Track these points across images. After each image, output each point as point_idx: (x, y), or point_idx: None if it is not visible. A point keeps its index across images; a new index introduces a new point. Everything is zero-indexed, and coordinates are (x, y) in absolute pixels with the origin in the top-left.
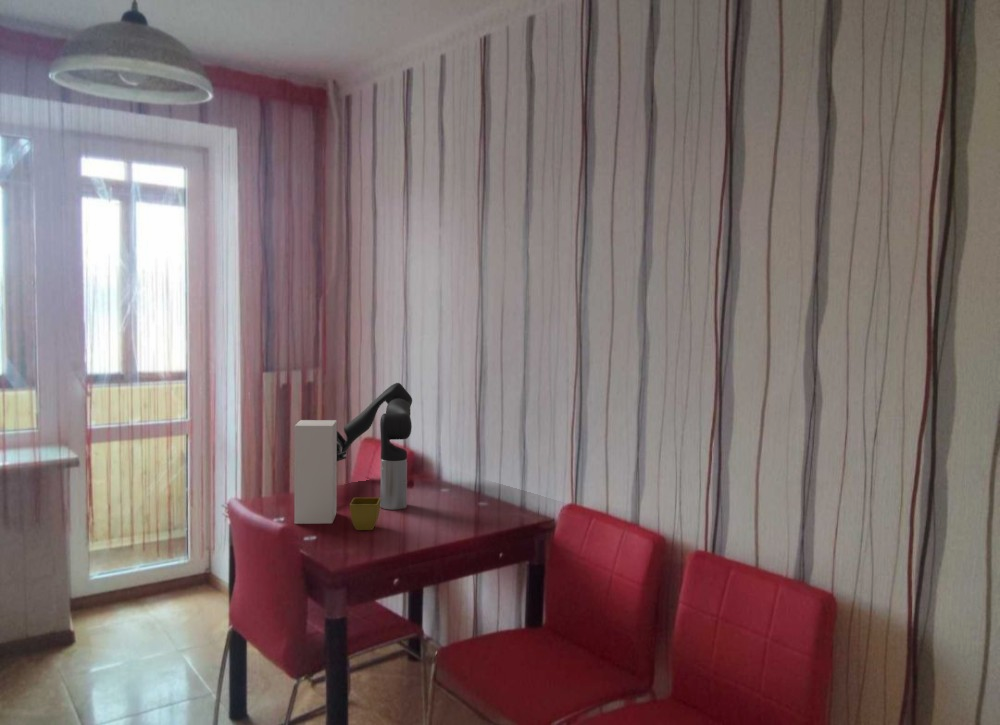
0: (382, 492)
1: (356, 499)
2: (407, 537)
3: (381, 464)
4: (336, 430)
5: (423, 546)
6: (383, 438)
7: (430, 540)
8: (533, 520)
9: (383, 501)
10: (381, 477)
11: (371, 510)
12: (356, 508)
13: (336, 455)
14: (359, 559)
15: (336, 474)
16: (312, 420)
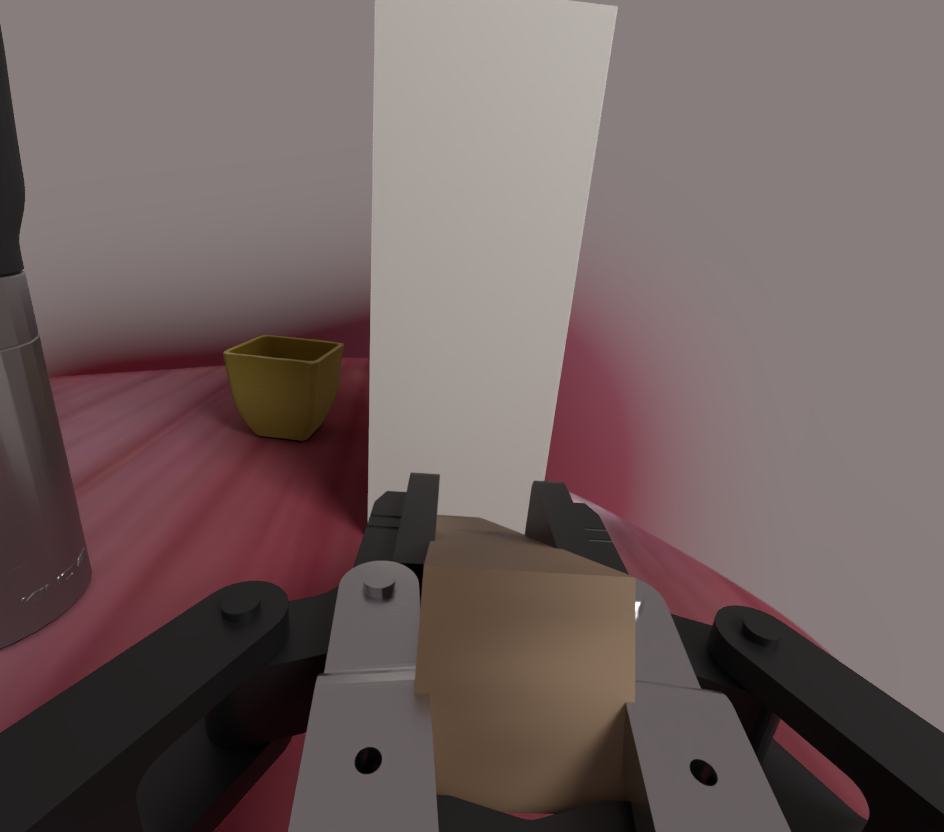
0: (73, 488)
1: (307, 366)
2: (205, 392)
3: (27, 314)
4: (375, 63)
5: (200, 370)
6: (8, 86)
7: (161, 380)
8: None
9: (82, 530)
10: (49, 406)
11: (281, 354)
12: (323, 352)
13: (372, 239)
14: (346, 361)
15: (370, 352)
16: (534, 3)
